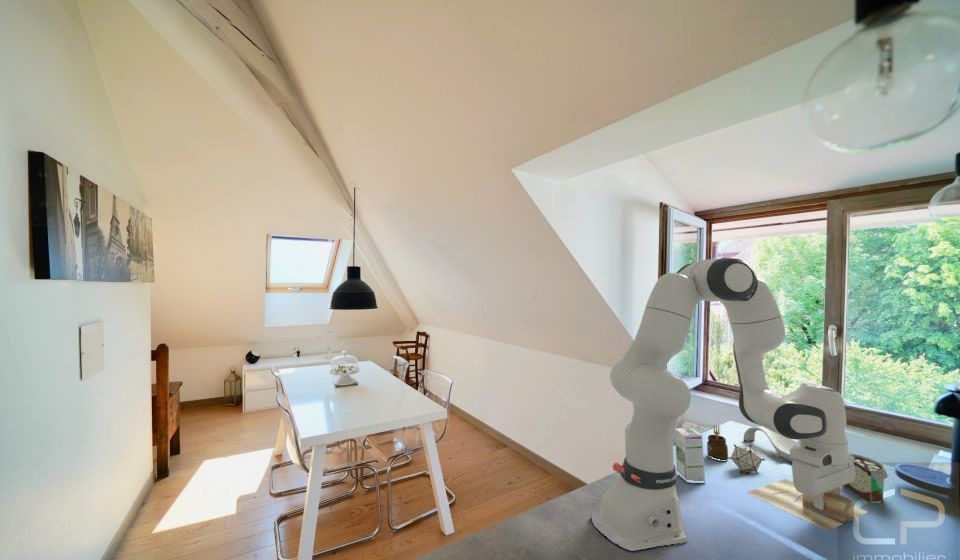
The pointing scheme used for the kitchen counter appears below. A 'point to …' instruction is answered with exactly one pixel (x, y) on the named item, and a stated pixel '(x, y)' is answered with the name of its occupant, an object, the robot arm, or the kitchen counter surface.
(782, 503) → the board
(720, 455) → the utensil holder
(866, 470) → the food container
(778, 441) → the spoon rest
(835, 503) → the block
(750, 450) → the game die
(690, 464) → the syrup box
